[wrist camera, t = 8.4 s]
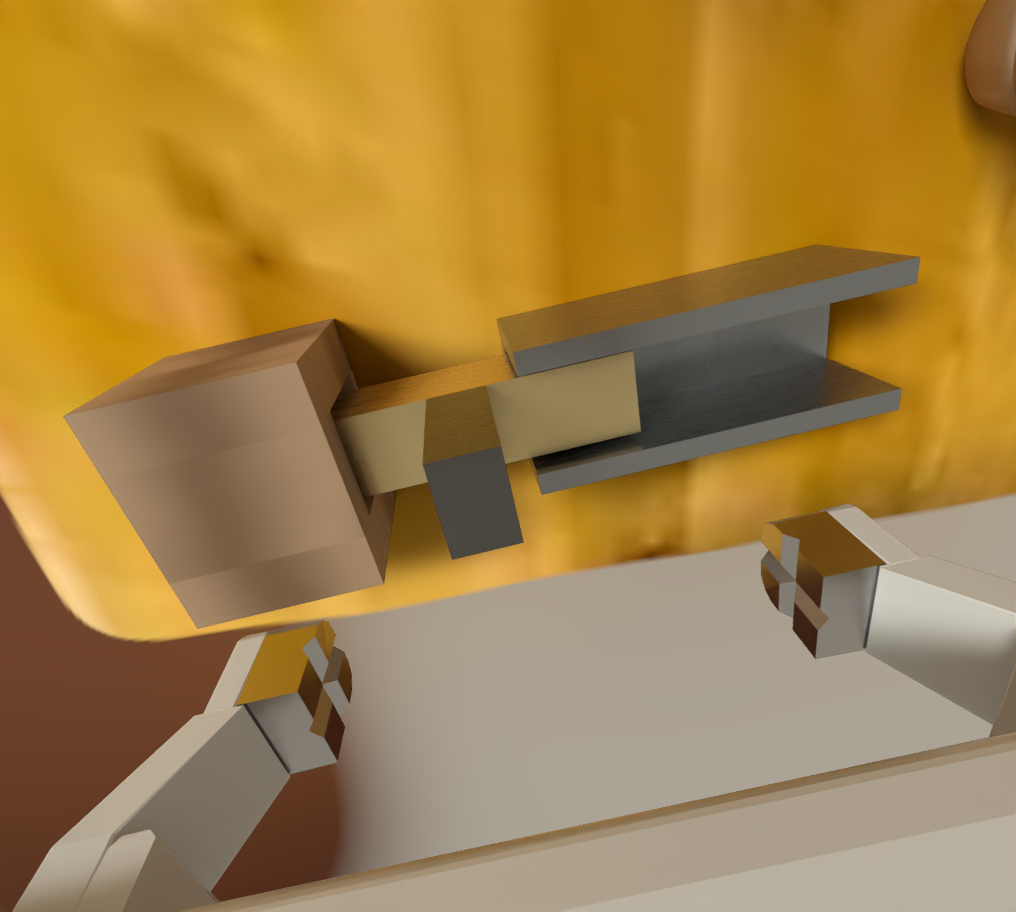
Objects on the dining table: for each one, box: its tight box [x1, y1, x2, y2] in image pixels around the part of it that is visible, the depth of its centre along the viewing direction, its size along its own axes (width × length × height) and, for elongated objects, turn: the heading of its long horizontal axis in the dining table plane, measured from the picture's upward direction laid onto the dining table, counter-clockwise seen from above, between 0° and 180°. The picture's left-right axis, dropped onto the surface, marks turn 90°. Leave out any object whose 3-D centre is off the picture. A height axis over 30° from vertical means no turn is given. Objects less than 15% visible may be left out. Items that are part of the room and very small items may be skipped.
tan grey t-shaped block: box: [330, 350, 641, 560], centre depth 17 cm, size 14×3×8 cm, turn 102°
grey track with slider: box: [497, 245, 920, 495], centre depth 20 cm, size 13×5×5 cm, turn 102°
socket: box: [63, 319, 396, 629], centre depth 19 cm, size 6×8×6 cm
